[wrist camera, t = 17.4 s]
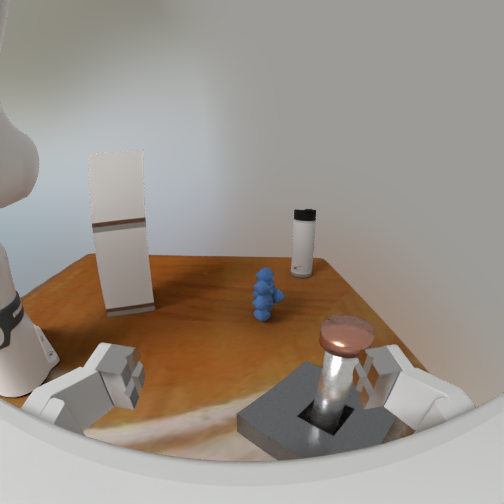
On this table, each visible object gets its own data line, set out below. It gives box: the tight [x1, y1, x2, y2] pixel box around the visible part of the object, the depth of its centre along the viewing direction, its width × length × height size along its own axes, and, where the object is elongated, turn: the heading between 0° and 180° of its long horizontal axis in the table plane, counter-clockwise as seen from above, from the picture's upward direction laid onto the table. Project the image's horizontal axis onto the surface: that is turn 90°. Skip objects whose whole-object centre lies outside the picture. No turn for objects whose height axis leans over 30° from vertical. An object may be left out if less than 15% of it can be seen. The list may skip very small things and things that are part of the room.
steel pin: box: [309, 315, 375, 436], centre depth 26 cm, size 5×5×16 cm
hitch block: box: [237, 361, 396, 460], centre depth 28 cm, size 16×14×4 cm
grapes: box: [252, 267, 285, 322], centre depth 54 cm, size 12×7×12 cm, turn 169°
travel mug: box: [291, 209, 316, 278], centre depth 78 cm, size 6×7×20 cm
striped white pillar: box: [89, 150, 155, 317], centre depth 56 cm, size 11×11×35 cm
